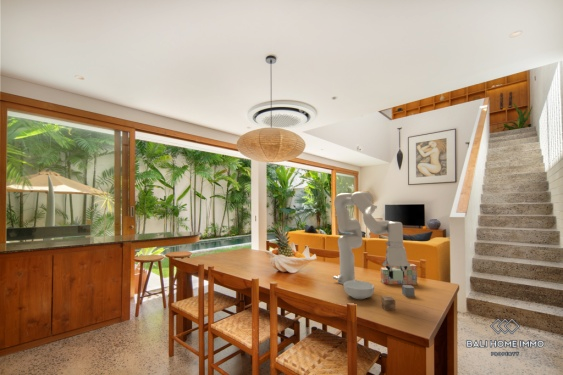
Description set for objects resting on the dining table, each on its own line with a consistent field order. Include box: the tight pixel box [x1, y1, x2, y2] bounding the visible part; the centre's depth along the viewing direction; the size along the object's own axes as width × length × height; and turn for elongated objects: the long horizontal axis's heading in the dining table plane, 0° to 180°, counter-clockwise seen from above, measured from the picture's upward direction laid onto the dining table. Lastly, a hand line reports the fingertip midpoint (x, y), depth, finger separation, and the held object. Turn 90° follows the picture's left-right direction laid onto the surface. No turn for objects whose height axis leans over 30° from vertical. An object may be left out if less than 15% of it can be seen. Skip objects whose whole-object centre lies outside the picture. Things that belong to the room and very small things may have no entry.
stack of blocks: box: [380, 263, 418, 286], centre depth 177 cm, size 21×6×12 cm, turn 84°
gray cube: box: [401, 284, 416, 298], centre depth 154 cm, size 5×5×5 cm
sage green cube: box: [392, 269, 403, 281], centre depth 145 cm, size 5×5×5 cm
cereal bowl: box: [343, 279, 375, 300], centre depth 152 cm, size 17×17×7 cm
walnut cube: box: [381, 296, 396, 311], centre depth 136 cm, size 5×5×5 cm
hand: (396, 277), depth 145 cm, fingers closed on sage green cube, 4 cm apart
